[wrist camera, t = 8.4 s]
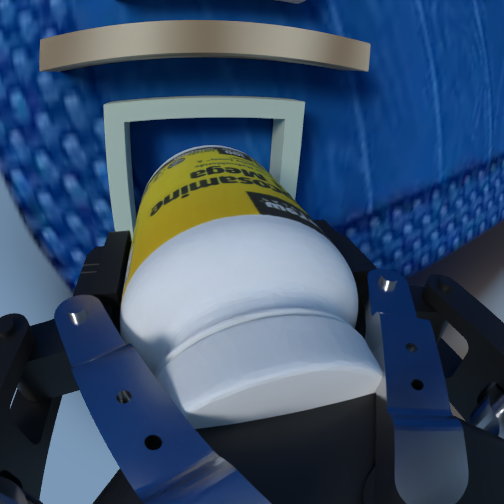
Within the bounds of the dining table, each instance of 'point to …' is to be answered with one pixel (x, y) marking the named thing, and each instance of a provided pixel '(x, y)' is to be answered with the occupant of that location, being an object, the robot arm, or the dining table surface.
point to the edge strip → (201, 44)
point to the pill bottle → (239, 295)
